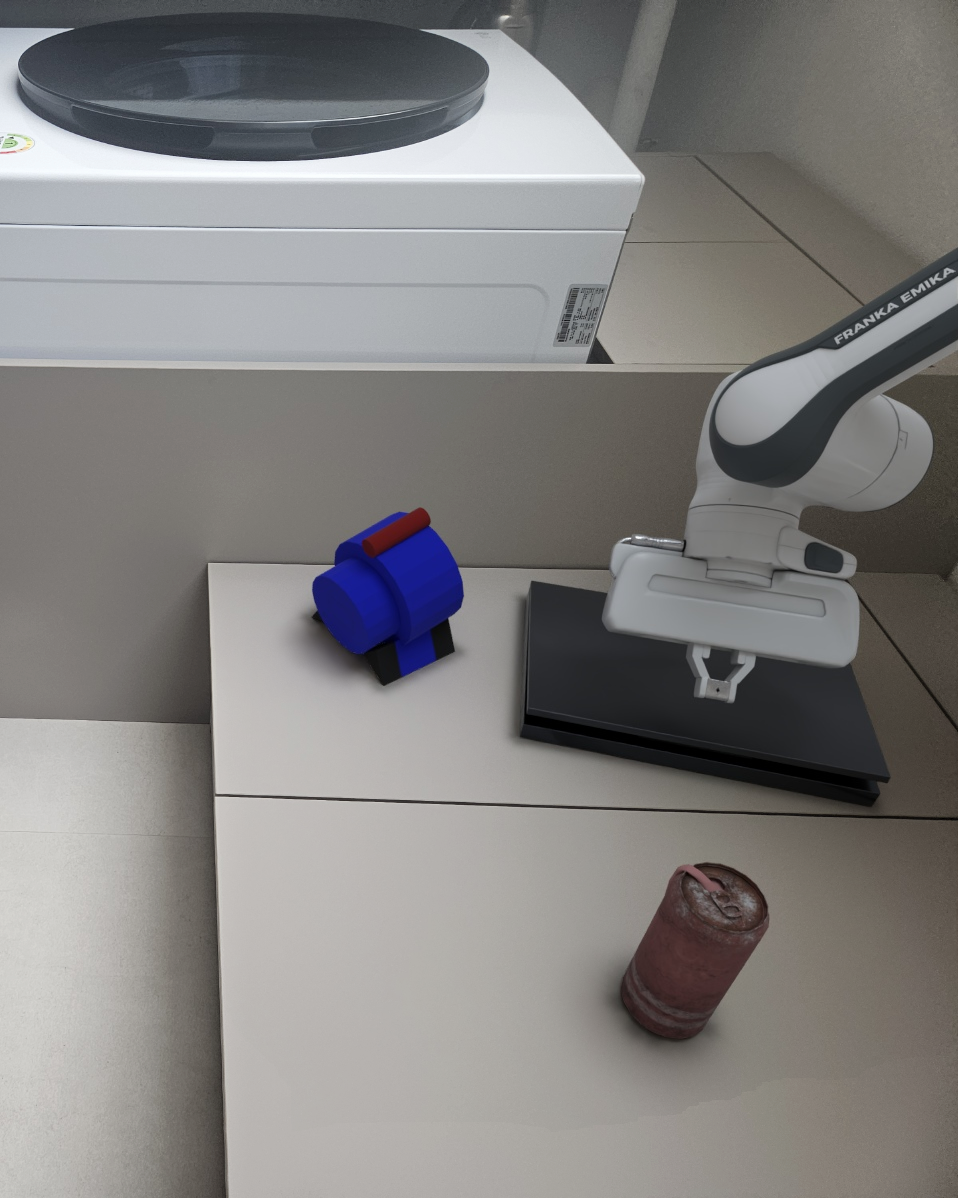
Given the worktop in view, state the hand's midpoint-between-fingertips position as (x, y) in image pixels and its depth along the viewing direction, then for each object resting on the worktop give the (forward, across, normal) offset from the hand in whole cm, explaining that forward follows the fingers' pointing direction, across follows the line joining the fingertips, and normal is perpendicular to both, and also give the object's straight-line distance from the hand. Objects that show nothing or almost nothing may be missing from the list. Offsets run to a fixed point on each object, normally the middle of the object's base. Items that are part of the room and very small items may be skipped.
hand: (713, 700), depth 92 cm
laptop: (-1, 0, +10) cm, 11 cm away
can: (+24, -4, -14) cm, 28 cm away
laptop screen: (-3, 0, +9) cm, 9 cm away
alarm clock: (-1, -30, +10) cm, 32 cm away
